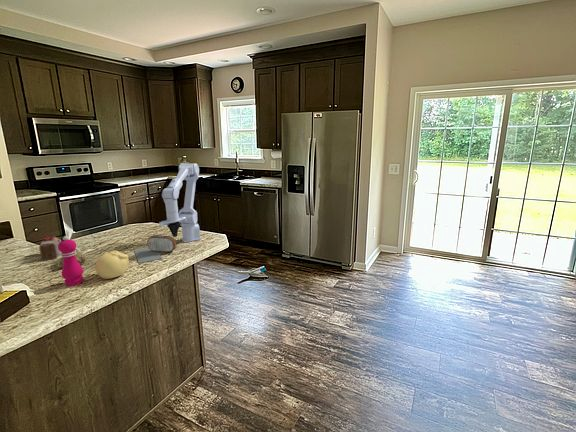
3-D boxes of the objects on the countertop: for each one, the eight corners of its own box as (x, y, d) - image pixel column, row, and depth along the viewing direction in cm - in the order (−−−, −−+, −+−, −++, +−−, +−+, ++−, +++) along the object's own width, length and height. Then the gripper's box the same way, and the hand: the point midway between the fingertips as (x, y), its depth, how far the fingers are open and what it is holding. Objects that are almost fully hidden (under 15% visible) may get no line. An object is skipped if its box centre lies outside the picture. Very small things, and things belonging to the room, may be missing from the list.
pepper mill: (70, 279, 128) (61, 233, 123) (88, 278, 128) (80, 233, 123) (59, 287, 121) (49, 239, 116) (78, 286, 121) (69, 238, 116)
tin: (177, 251, 158) (176, 235, 156) (174, 253, 155) (173, 237, 153) (150, 249, 159) (148, 234, 157) (146, 251, 156) (145, 235, 154)
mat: (155, 246, 165) (155, 246, 165) (162, 258, 148) (162, 258, 148) (134, 250, 159) (134, 250, 159) (138, 263, 143) (138, 262, 143)
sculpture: (135, 271, 134) (131, 248, 132) (111, 283, 123) (107, 258, 121) (115, 268, 138) (111, 245, 135) (91, 279, 127) (86, 255, 124)
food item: (44, 252, 158) (40, 234, 155) (63, 249, 162) (59, 232, 159) (40, 261, 146) (36, 242, 144) (61, 258, 150) (57, 239, 148)
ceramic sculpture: (84, 239, 150) (82, 250, 138) (87, 255, 153) (85, 267, 141) (58, 243, 145) (53, 255, 133) (62, 259, 148) (57, 273, 136)
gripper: (180, 207, 164) (182, 231, 167) (154, 212, 153) (157, 238, 156) (187, 209, 159) (190, 234, 163) (162, 214, 148) (165, 241, 152)
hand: (174, 236), depth 159 cm, fingers closed
